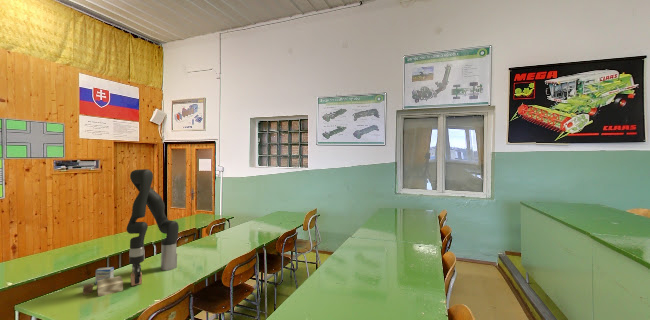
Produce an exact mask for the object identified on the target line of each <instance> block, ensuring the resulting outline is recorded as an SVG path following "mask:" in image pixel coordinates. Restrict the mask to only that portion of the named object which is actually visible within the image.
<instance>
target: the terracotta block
mask: <svg viewBox="0 0 650 320" xmlns="http://www.w3.org/2000/svg"><path fill="white" fill-rule="evenodd" d="M135 273H136V272H135ZM138 275H139V274H137V276H138ZM140 284H143V273H142V272H141V276H140V277H139V283H138V284H135V274H134V273H133V272H131V273H130V285H131V286H133V287H134V286H136V285H140Z"/></svg>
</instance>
